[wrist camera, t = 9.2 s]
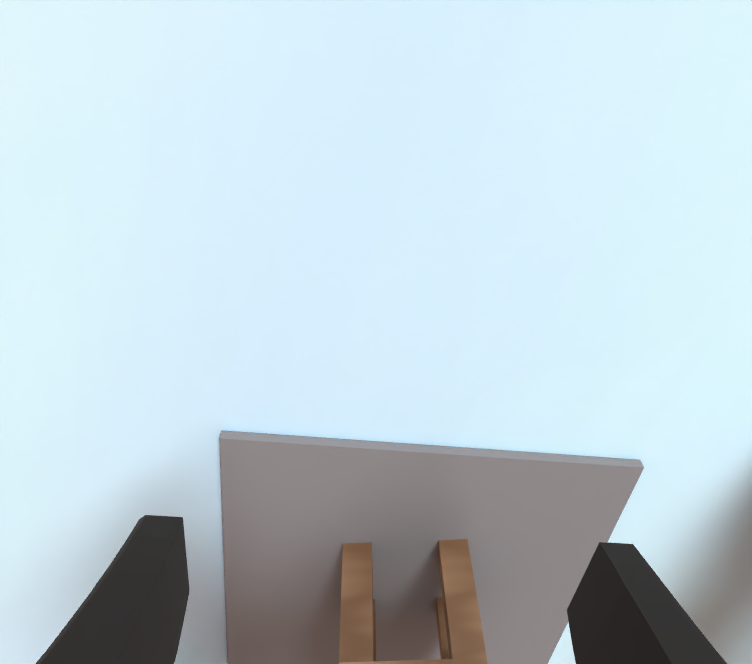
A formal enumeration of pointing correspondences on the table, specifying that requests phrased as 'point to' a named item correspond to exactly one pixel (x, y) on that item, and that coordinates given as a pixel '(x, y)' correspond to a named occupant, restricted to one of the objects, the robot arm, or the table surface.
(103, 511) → the table surface
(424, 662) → the stool
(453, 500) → the mat
